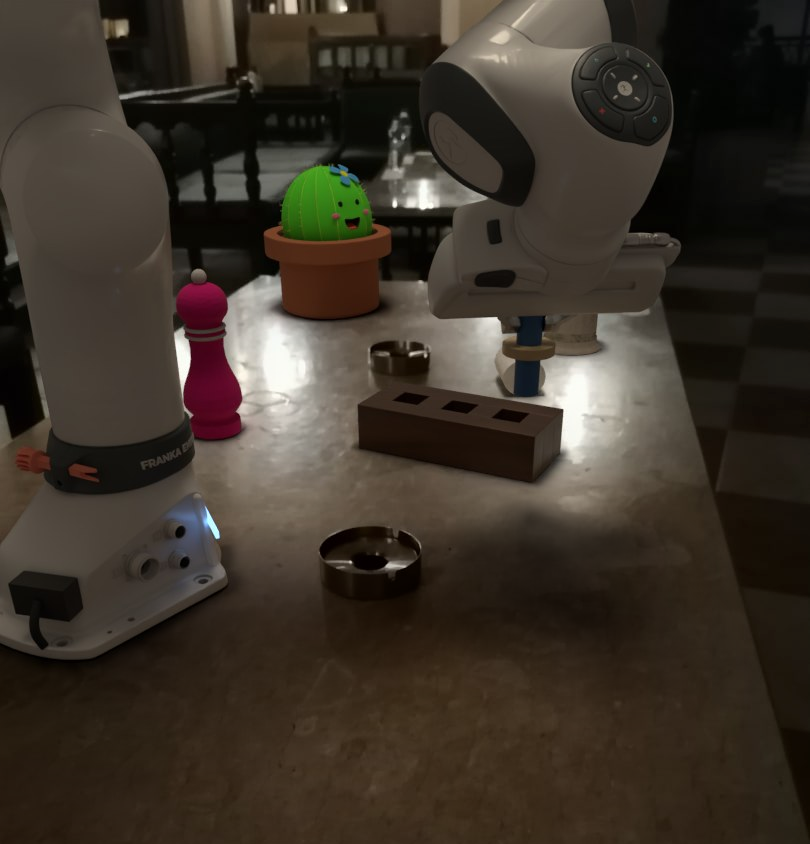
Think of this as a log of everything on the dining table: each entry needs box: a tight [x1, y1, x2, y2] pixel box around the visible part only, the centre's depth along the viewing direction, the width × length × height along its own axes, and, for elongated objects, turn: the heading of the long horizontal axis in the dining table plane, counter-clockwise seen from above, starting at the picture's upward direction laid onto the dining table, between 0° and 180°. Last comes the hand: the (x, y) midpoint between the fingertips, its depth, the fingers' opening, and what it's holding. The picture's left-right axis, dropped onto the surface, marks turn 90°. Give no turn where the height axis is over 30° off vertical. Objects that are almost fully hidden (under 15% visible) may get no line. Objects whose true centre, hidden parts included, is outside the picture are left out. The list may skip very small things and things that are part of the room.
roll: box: [493, 347, 547, 397], centre depth 128 cm, size 6×12×6 cm, turn 3°
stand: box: [357, 380, 565, 483], centre depth 107 cm, size 9×22×6 cm, turn 62°
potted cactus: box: [263, 162, 392, 320], centre depth 161 cm, size 22×22×25 cm
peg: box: [501, 316, 556, 398], centre depth 85 cm, size 5×5×11 cm
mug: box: [543, 314, 602, 356], centre depth 143 cm, size 14×10×12 cm
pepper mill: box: [175, 268, 243, 440], centre depth 110 cm, size 7×7×20 cm
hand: (527, 326), depth 86 cm, fingers closed on peg, 2 cm apart
